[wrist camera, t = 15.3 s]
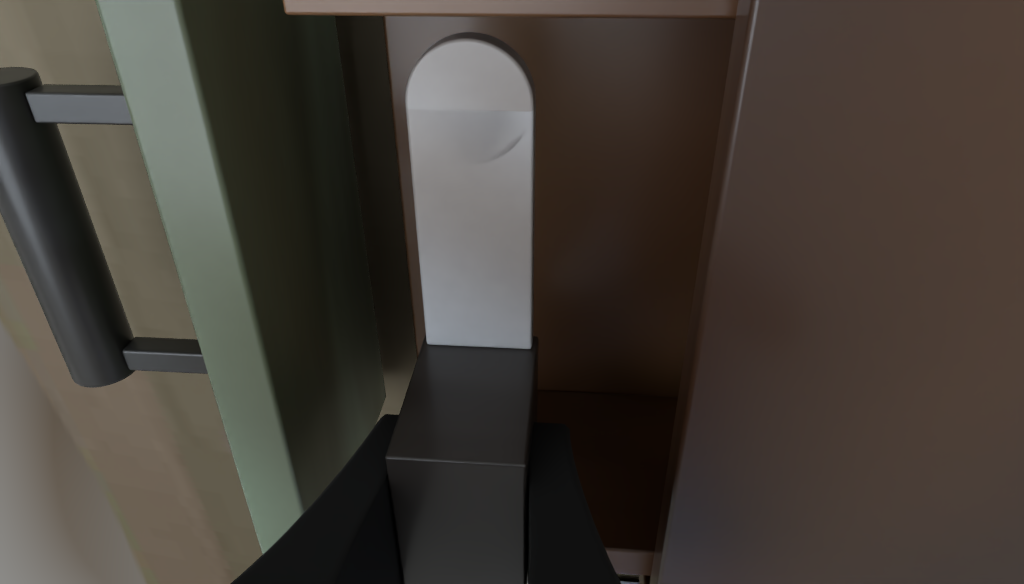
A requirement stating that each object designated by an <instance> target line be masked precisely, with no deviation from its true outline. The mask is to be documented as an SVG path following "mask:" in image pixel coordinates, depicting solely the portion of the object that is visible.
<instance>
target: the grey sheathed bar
mask: <svg viewBox="0 0 1024 584" xmlns="http://www.w3.org/2000/svg"><path fill="white" fill-rule="evenodd" d="M405 104H406V116H407V127H408V138H409V149H410V161H411V172H412V183H413V195H414V206H415V217H416V228H417V240H418V251H419V262H420V273H421V285H422V296H423V307H424V318H425V330H426V334H425V337H424V340H423V344H422V347H421V350H420V353H419V356H418V359H417V362H416V365H415V368H414V371H413V374H412V377H411V380H410V383H409V386H408V389H407V392H406V396H405V399H404V402H403V405H402V408H401V411H400V414H399V417H398V420H397V423H396V426H395V429H394V432H393V435H392V438H391V441H390V445H389V448H388V451H387V454H386V457H385V459H386V466H387V473H388V480H389V487H390V494H391V501H392V508H393V515H394V522H395V529H396V536H397V543H398V550H399V557H400V564H401V571H402V578H403V584H528V477H529V458H530V449H531V440H532V432H533V424H534V422H537V400H538V337H536V336H533V315H534V223H535V131H536V93H535V86H534V82H533V78H532V75H531V73H530V71H529V69H528V67H527V65H526V64H525V62H524V60H523V59H522V58H521V57H520V55H519V54H518V53H517V52H516V51H515V50H514V49H513V48H511V47H510V46H509V45H507V44H506V43H505V42H503V41H501V40H499V39H497V38H495V37H493V36H490V35H487V34H482V33H476V32H462V33H457V34H453V35H450V36H447V37H445V38H443V39H441V40H439V41H437V42H436V43H434V44H433V45H432V46H431V47H429V48H428V49H427V50H426V51H425V53H424V54H423V55H422V56H421V58H420V59H419V60H418V62H417V63H416V64H415V66H414V68H413V69H412V71H411V73H410V76H409V78H408V82H407V86H406V93H405Z"/></svg>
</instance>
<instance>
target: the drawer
mask: <svg viewBox="0 0 1024 584" xmlns="http://www.w3.org/2000/svg"><path fill="white" fill-rule="evenodd" d="M95 1H96V5H97V8H98V11H99V15H100V18H101V21H102V25H103V28H104V31H105V35H106V38H107V41H108V44H109V48H110V51H111V54H112V58H113V61H114V64H115V68H116V71H117V74H118V78H119V81H120V84H121V86H111V85H51V84H44V85H42V82H41V79H40V76H39V73H38V72H37V71H36V70H34V69H31V68H23V67H6V68H0V213H1V215H2V217H3V220H4V222H5V224H6V227H7V229H8V231H9V233H10V236H11V238H12V240H13V243H14V245H15V247H16V250H17V252H18V254H19V257H20V259H21V261H22V263H23V266H24V268H25V270H26V273H27V275H28V277H29V280H30V282H31V284H32V286H33V289H34V291H35V293H36V296H37V298H38V300H39V303H40V305H41V307H42V309H43V312H44V314H45V316H46V319H47V321H48V323H49V326H50V328H51V330H52V332H53V335H54V337H55V339H56V342H57V344H58V346H59V349H60V351H61V353H62V356H63V358H64V360H65V362H66V365H67V367H68V369H69V372H70V374H71V376H72V379H73V380H74V382H75V383H77V384H78V385H80V386H84V387H102V386H107V385H110V384H113V383H116V382H118V381H121V380H123V379H125V378H126V377H128V376H129V375H131V374H132V373H133V372H134V371H135V370H142V371H162V372H182V373H203V374H208V375H209V379H210V382H211V385H212V389H213V392H214V395H215V398H216V402H217V405H218V408H219V412H220V415H221V418H222V422H223V425H224V428H225V432H226V435H227V438H228V441H229V445H230V448H231V451H232V455H233V458H234V461H235V465H236V468H237V471H238V475H239V478H240V481H241V484H242V488H243V491H244V494H245V498H246V501H247V504H248V508H249V511H250V514H251V518H252V521H253V524H254V527H255V531H256V534H257V537H258V541H259V544H260V547H261V551H262V554H264V553H265V552H266V551H267V550H268V549H269V548H270V547H271V546H272V545H273V544H274V543H275V542H276V541H277V540H278V539H279V538H280V537H281V536H282V535H283V534H284V533H285V532H286V531H287V530H288V529H289V528H290V527H291V526H292V525H293V524H294V523H295V522H296V521H297V520H298V519H299V517H300V516H301V515H302V514H303V513H304V512H305V511H306V510H307V509H308V508H309V507H310V506H311V505H312V504H313V502H314V501H315V500H316V499H317V498H318V497H319V496H320V494H321V493H322V492H323V491H324V490H325V489H326V487H327V486H328V485H329V484H330V483H331V481H332V480H333V479H334V478H335V477H336V475H337V474H338V473H339V472H340V471H341V470H342V468H343V467H344V466H345V465H346V463H347V462H348V461H349V460H350V458H351V457H352V456H353V454H354V453H355V452H356V451H357V449H358V448H359V447H360V445H361V444H362V443H363V442H364V440H365V439H366V438H367V436H368V435H369V433H370V432H371V431H372V429H373V428H374V427H375V425H376V422H377V419H378V417H379V414H380V411H381V408H382V406H383V403H384V400H385V397H386V393H385V386H384V378H383V371H382V364H381V356H380V349H379V341H378V334H377V326H376V319H375V312H374V304H373V297H372V289H371V282H370V274H369V267H368V260H367V252H366V245H365V237H364V230H363V222H362V215H361V208H360V200H359V193H358V185H357V178H356V170H355V163H354V156H353V148H352V141H351V133H350V126H349V118H348V111H347V103H346V96H345V89H344V81H343V74H342V66H341V59H340V51H339V44H338V37H337V29H336V22H335V16H383V24H384V34H385V44H386V54H387V64H388V74H389V84H390V94H391V104H392V114H393V124H394V134H395V144H396V154H397V164H398V174H399V184H400V194H401V204H402V214H403V224H404V234H405V244H406V254H407V264H408V274H409V283H410V293H411V303H412V313H413V323H414V333H415V343H416V353H417V359H418V356H419V353H420V350H421V347H422V344H423V340H424V337H425V334H426V330H425V318H424V307H423V296H422V285H421V273H420V262H419V251H418V240H417V228H416V217H415V206H414V195H413V183H412V172H411V161H410V149H409V138H408V127H407V116H406V104H405V93H406V86H407V82H408V78H409V76H410V73H411V71H412V69H413V68H414V66H415V64H416V63H417V62H418V60H419V59H420V58H421V56H422V55H423V54H424V53H425V51H426V50H427V49H428V48H429V47H431V46H432V45H433V44H434V43H436V42H437V41H439V40H441V39H443V38H445V37H447V36H450V35H453V34H457V33H462V32H476V33H482V34H487V35H490V36H493V37H495V38H497V39H499V40H501V41H503V42H505V43H506V44H507V45H509V46H510V47H511V48H513V49H514V50H515V51H516V52H517V53H518V54H519V55H520V57H521V58H522V59H523V60H524V62H525V64H526V65H527V67H528V69H529V71H530V73H531V75H532V78H533V82H534V86H535V93H536V131H535V223H534V315H533V336H536V337H538V400H537V422H541V423H560V424H565V425H566V426H567V427H568V428H569V429H570V440H571V447H572V452H573V457H574V461H575V465H576V469H577V473H578V476H579V480H580V483H581V486H582V490H583V493H584V496H585V498H586V501H587V504H588V507H589V510H590V512H591V515H592V518H593V521H594V523H595V526H596V528H597V531H598V533H599V536H600V538H601V541H602V543H603V545H604V547H605V550H606V552H607V554H608V557H609V559H610V561H611V563H612V565H613V567H614V570H615V572H616V573H618V574H632V575H647V576H651V572H652V565H653V558H654V552H655V545H656V539H657V532H658V526H659V519H660V512H661V506H662V499H663V493H664V486H665V480H666V473H667V466H668V460H669V453H670V447H671V440H672V434H673V427H674V420H675V414H676V407H677V401H678V394H679V388H680V381H681V374H682V368H683V361H684V355H685V348H686V342H687V335H688V328H689V322H690V315H691V309H692V302H693V295H694V289H695V282H696V276H697V269H698V263H699V256H700V249H701V243H702V236H703V230H704V223H705V217H706V210H707V203H708V197H709V190H710V184H711V177H712V171H713V164H714V157H715V151H716V144H717V138H718V131H719V125H720V118H721V111H722V105H723V98H724V92H725V85H726V78H727V72H728V65H729V59H730V52H731V46H732V39H733V32H734V26H735V19H736V13H737V6H738V0H95ZM57 123H65V124H112V125H133V127H134V130H135V134H136V137H137V140H138V144H139V147H140V150H141V154H142V157H143V160H144V164H145V167H146V170H147V174H148V177H149V180H150V183H151V187H152V190H153V193H154V197H155V200H156V203H157V207H158V210H159V213H160V217H161V220H162V223H163V226H164V230H165V233H166V236H167V240H168V243H169V246H170V250H171V253H172V256H173V260H174V263H175V266H176V269H177V273H178V276H179V279H180V283H181V286H182V289H183V293H184V296H185V299H186V303H187V306H188V309H189V312H190V316H191V319H192V322H193V326H194V329H195V332H196V336H197V339H198V340H194V339H173V338H151V337H135V338H134V337H133V334H132V331H131V328H130V326H129V323H128V320H127V317H126V314H125V312H124V309H123V306H122V303H121V301H120V298H119V295H118V292H117V290H116V287H115V284H114V281H113V278H112V276H111V273H110V270H109V267H108V265H107V262H106V259H105V256H104V253H103V251H102V248H101V245H100V242H99V240H98V237H97V234H96V231H95V229H94V226H93V223H92V220H91V217H90V215H89V212H88V209H87V206H86V204H85V201H84V198H83V195H82V193H81V190H80V187H79V184H78V181H77V179H76V176H75V173H74V170H73V168H72V165H71V162H70V159H69V157H68V154H67V151H66V148H65V145H64V143H63V140H62V137H61V134H60V132H59V129H58V126H57Z"/></svg>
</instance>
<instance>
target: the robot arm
mask: <svg viewBox="0 0 1024 584" xmlns="http://www.w3.org/2000/svg"><path fill="white" fill-rule="evenodd" d="M398 417H399V415H390V414H385V415H384V416H383V417H382V418H380V420H379V421H378V423H377V424H376V425H375V427H374V428H373V429H372V431H371V432H370V433H369V435H368V436H367V438H366V439H365V440H364V442H363V443H362V444H361V445H360V447H359V448H358V449H357V451H356V452H355V453H354V454H353V456H352V457H351V458H350V460H349V461H348V462H347V463H346V465H345V466H344V467H343V468H342V470H341V471H340V472H339V473H338V474H337V475H336V477H335V478H334V479H333V480H332V481H331V483H330V484H329V485H328V486H327V487H326V489H325V490H324V491H323V492H322V493H321V494H320V496H319V497H318V498H317V499H316V500H315V501H314V502H313V504H312V505H311V506H310V507H309V508H308V509H307V510H306V511H305V512H304V513H303V514H302V515H301V516H300V517H299V519H298V520H297V521H296V522H295V523H294V524H293V525H292V526H291V527H290V528H289V529H288V530H287V531H286V532H285V533H284V534H283V535H282V536H281V537H280V538H279V539H278V540H277V541H276V542H275V543H274V544H273V545H272V546H271V547H270V548H269V549H268V550H267V551H266V552H265V553H264V554H263V555H262V556H261V557H260V558H259V559H258V560H257V561H255V562H254V563H253V564H252V565H251V566H250V567H249V568H248V569H247V570H246V571H245V572H243V573H242V574H241V575H240V576H239V577H238V578H237V579H235V580H234V581H233V582H232V583H231V584H403V578H402V571H401V564H400V557H399V550H398V543H397V536H396V529H395V522H394V515H393V508H392V501H391V494H390V487H389V480H388V473H387V466H386V459H385V457H386V454H387V451H388V448H389V445H390V441H391V438H392V435H393V432H394V429H395V426H396V423H397V420H398ZM528 584H639V582H627V581H620V580H619V578H618V576H617V574H616V572H615V570H614V567H613V565H612V563H611V561H610V559H609V557H608V554H607V552H606V550H605V547H604V545H603V543H602V541H601V538H600V536H599V533H598V531H597V528H596V526H595V523H594V521H593V518H592V515H591V512H590V510H589V507H588V504H587V501H586V498H585V496H584V493H583V490H582V486H581V483H580V480H579V476H578V473H577V469H576V465H575V461H574V457H573V452H572V447H571V440H570V429H569V428H568V427H567V426H566V425H565V424H560V423H541V422H534V424H533V432H532V440H531V449H530V458H529V477H528Z"/></svg>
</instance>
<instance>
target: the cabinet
mask: <svg viewBox="0 0 1024 584" xmlns="http://www.w3.org/2000/svg"><path fill="white" fill-rule="evenodd" d="M639 584H1024V0H738V6H737V13H736V19H735V26H734V32H733V39H732V46H731V52H730V59H729V65H728V72H727V78H726V85H725V92H724V98H723V105H722V111H721V118H720V125H719V131H718V138H717V144H716V151H715V157H714V164H713V171H712V177H711V184H710V190H709V197H708V203H707V210H706V217H705V223H704V230H703V236H702V243H701V249H700V256H699V263H698V269H697V276H696V282H695V289H694V295H693V302H692V309H691V315H690V322H689V328H688V335H687V342H686V348H685V355H684V361H683V368H682V374H681V381H680V388H679V394H678V401H677V407H676V414H675V420H674V427H673V434H672V440H671V447H670V453H669V460H668V466H667V473H666V480H665V486H664V493H663V499H662V506H661V512H660V519H659V526H658V532H657V539H656V545H655V552H654V558H653V565H652V572H651V576H647V575H639Z"/></svg>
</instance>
